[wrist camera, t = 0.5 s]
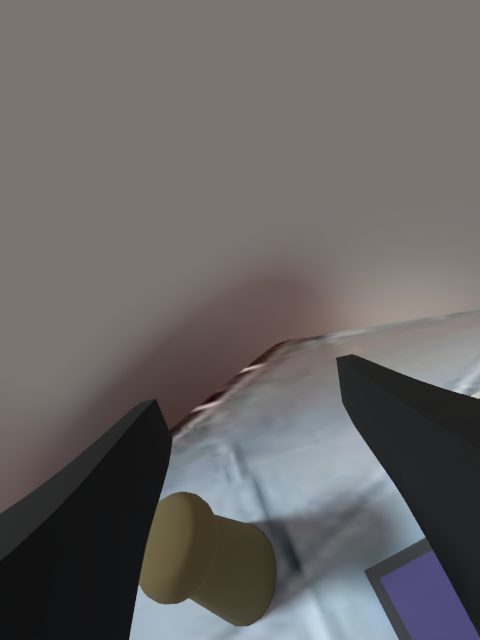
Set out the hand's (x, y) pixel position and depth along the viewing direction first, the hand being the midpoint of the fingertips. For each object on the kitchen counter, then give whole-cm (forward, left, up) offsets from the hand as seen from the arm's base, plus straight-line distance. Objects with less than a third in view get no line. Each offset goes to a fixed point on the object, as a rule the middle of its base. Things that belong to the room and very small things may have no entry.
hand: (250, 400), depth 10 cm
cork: (+1, +9, -18) cm, 21 cm away
